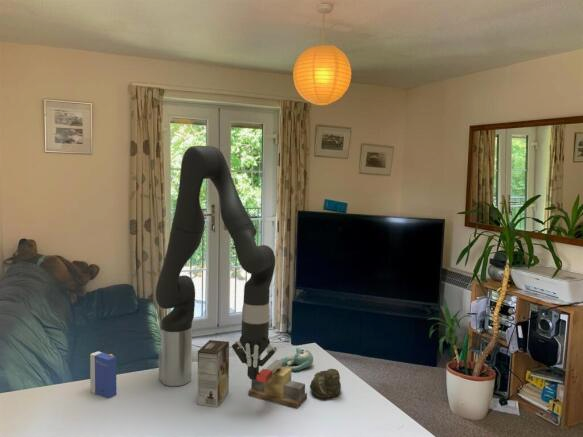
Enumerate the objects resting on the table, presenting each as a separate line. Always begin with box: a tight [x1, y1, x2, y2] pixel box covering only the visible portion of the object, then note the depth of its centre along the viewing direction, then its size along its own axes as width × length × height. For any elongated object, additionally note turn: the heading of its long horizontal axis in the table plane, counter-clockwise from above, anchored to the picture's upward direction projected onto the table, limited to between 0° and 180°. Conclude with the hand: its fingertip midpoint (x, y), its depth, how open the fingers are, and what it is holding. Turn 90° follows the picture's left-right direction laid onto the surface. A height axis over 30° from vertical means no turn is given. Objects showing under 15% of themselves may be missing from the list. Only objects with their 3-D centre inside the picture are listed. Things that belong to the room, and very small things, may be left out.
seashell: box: [309, 368, 342, 399], centre depth 136 cm, size 11×12×10 cm
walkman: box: [89, 351, 117, 399], centre depth 131 cm, size 8×3×12 cm, turn 63°
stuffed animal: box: [278, 347, 314, 372], centre depth 154 cm, size 11×7×12 cm
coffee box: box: [197, 339, 230, 408], centre depth 130 cm, size 9×6×16 cm
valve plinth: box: [247, 365, 308, 410], centre depth 132 cm, size 16×7×8 cm, turn 65°
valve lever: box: [257, 358, 283, 383], centre depth 127 cm, size 12×3×3 cm, turn 158°
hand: (252, 378), depth 124 cm, fingers closed
